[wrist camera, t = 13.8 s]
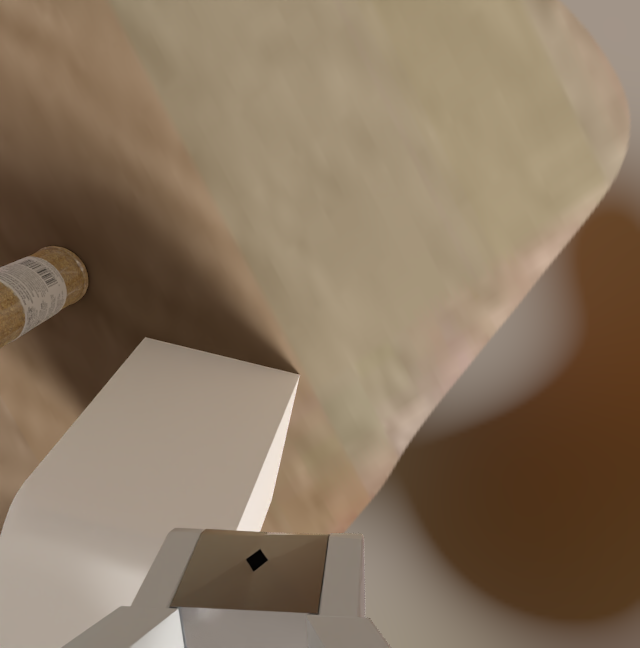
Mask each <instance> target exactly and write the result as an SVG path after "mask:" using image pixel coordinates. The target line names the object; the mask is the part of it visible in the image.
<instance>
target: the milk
mask: <svg viewBox="0 0 640 648" xmlns="http://www.w3.org/2000/svg"><path fill="white" fill-rule="evenodd" d="M299 376H300V375H299V374H295V373H291V372H287V371H283V370H278V369H274V368H270V367H266V366H262V365H258V364H254V363H250V362H246V361H241V360H237V359H233V358H229V357H225V356H221V355H217V354H213V353H208V352H204V351H200V350H196V349H192V348H188V347H184V346H180V345H175V344H171V343H167V342H163V341H159V340H155V339H151V338H147V337H145V338H144V339H143V340H142V341H141V343H140V344H139V345H138V346H137V347H136V349H135V350H134V351H133V352H132V353H131V355H130V356H129V357H128V358H127V359H126V361H125V362H124V363H123V364H122V365H121V367H120V368H119V369H118V370H117V371H116V373H115V374H114V375H113V376H112V377H111V379H110V380H109V381H108V382H107V384H106V385H105V386H104V387H103V388H102V390H101V391H100V392H99V393H98V394H97V396H96V397H95V398H94V399H93V400H92V402H91V403H90V404H89V405H88V406H87V408H86V409H85V410H84V411H83V412H82V414H81V415H80V416H79V417H78V418H77V420H76V421H75V422H74V423H73V424H72V426H71V427H70V428H69V429H68V430H67V432H66V433H65V434H64V435H63V436H62V438H61V439H60V440H59V441H58V442H57V444H56V445H55V446H54V447H53V448H52V450H51V451H50V452H49V453H48V454H47V456H46V457H45V458H44V459H43V460H42V462H41V463H40V464H39V465H38V466H37V468H36V469H35V470H34V471H33V472H32V474H31V475H30V476H29V477H28V478H27V480H26V481H25V482H24V483H23V485H22V486H21V488H20V489H19V491H18V492H17V494H16V496H15V498H14V500H13V502H12V504H11V506H10V508H9V511H8V514H7V516H6V519H5V522H4V525H3V528H2V532H1V535H0V648H61V647H63V646H64V645H65V644H67V643H68V642H70V641H71V640H73V639H74V638H75V637H77V636H78V635H80V634H81V633H83V632H84V631H86V630H87V629H88V628H90V627H91V626H93V625H94V624H96V623H97V622H98V621H100V620H101V619H103V618H104V617H106V616H107V615H108V614H110V613H111V612H113V611H114V610H116V609H117V608H119V607H120V606H131V604H132V602H133V600H134V598H135V596H136V594H137V592H138V591H139V589H140V587H141V585H142V583H143V581H144V579H145V577H146V575H147V573H148V571H149V569H150V567H151V565H152V563H153V561H154V559H155V557H156V556H157V554H158V552H159V550H160V548H161V546H162V544H163V542H164V540H165V538H166V536H167V534H168V533H169V532H170V531H171V530H173V529H174V528H192V529H204V530H205V529H218V530H236V531H254V532H260V530H261V527H262V525H263V522H264V519H265V516H266V514H267V511H268V508H269V505H270V503H271V500H272V496H273V492H274V487H275V483H276V478H277V474H278V469H279V465H280V461H281V456H282V452H283V447H284V443H285V438H286V434H287V430H288V425H289V421H290V416H291V412H292V407H293V403H294V399H295V394H296V390H297V385H298V381H299Z"/></svg>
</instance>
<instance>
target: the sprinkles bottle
mask: <svg viewBox="0 0 640 648" xmlns="http://www.w3.org/2000/svg"><path fill="white" fill-rule="evenodd" d="M87 288H88V274H87V271H86V268H85V266H84V264H83V262H82V261H81V260H80V259H79V257H77V256H76V255H75V254H74V253H73V252H71V251H69V250H68V249H66V248H63V247H58V246H49V247H44V248H41V249H40V250H38V251H37V252H36V253H34V254H32V255H30V256H27V257H25V258H22V259H20V260H17V261H15V262H12V263H10V264H7V265H5V266H2V267H0V348H1V347H3V346H4V345H6V344H8V343H10V342H12V341H14V340H16V339H17V338H19V337H20V336H22V335H24V334H25V333H27V332H28V331H30V330H31V329H33V328H35V327H36V326H38V325H39V324H41V323H43V322H44V321H46V320H47V319H49V318H51V317H52V316H54V315H55V314H57V313H58V312H59V311H60V310H61V309H63V308H65V307H66V306H68V305H71V304H74V303H76V302H77V301H78V300H80V299H81V298H82V297H83V296H84V294H85V293H86V290H87Z"/></svg>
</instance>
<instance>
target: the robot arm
mask: <svg viewBox="0 0 640 648" xmlns="http://www.w3.org/2000/svg"><path fill="white" fill-rule="evenodd" d="M364 566H365V565H364V537H363V535H362V534H351V533H349V534H348V533H331V534H302V533H267V532H254V531H236V530H218V529H205V530H204V529H192V528H174V529H173V530H171V531H170V532H169V533H168V534H167V536H166V538H165V540H164V542H163V544H162V546H161V548H160V550H159V552H158V554H157V556H156V557H155V559H154V561H153V563H152V565H151V567H150V569H149V571H148V573H147V575H146V577H145V579H144V581H143V583H142V585H141V587H140V589H139V591H138V592H137V594H136V596H135V598H134V600H133V602H132V604H131V606H120V607H119V608H117V609H116V610H114V611H113V612H111V613H110V614H108V615H107V616H106V617H104V618H103V619H101V620H100V621H98V622H97V623H96V624H94V625H93V626H91V627H90V628H88V629H87V630H86V631H84V632H83V633H81V634H80V635H78V636H77V637H75V638H74V639H73V640H71V641H70V642H68V643H67V644H65V645H64V646H63V647H61V648H391V647H390V645H389V644H388V643H387V641H386V640H385V638H384V637H383V636H382V634H381V633H380V631H379V630H378V629H377V627H376V626H375V625H374V623H373V622H372V620H371V619H370V618H365V567H364Z"/></svg>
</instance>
